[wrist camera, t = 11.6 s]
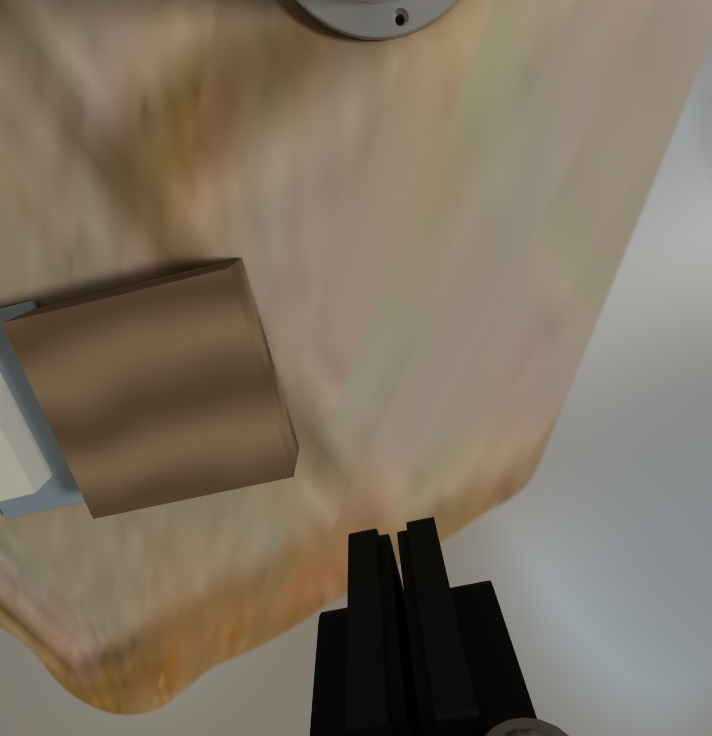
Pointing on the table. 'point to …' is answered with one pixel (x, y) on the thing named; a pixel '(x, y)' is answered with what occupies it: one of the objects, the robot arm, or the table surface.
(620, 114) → the table surface
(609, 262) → the table surface
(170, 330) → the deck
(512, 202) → the table surface
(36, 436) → the mat
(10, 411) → the white rectangular block
